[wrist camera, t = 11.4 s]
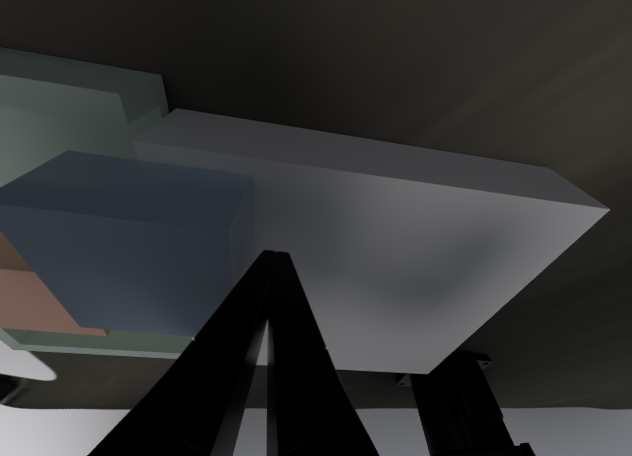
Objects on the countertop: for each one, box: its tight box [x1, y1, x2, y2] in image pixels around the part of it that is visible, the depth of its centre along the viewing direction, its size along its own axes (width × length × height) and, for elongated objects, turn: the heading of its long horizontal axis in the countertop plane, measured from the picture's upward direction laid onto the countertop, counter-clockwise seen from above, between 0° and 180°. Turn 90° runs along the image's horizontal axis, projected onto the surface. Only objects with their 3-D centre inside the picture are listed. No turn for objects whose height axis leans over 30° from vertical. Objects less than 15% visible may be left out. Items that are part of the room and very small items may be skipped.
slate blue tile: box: [0, 150, 251, 337], centre depth 8 cm, size 5×5×2 cm
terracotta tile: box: [0, 231, 111, 336], centre depth 13 cm, size 5×5×2 cm
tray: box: [0, 47, 192, 359], centre depth 12 cm, size 16×11×2 cm
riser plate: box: [132, 108, 610, 374], centre depth 13 cm, size 14×15×3 cm
